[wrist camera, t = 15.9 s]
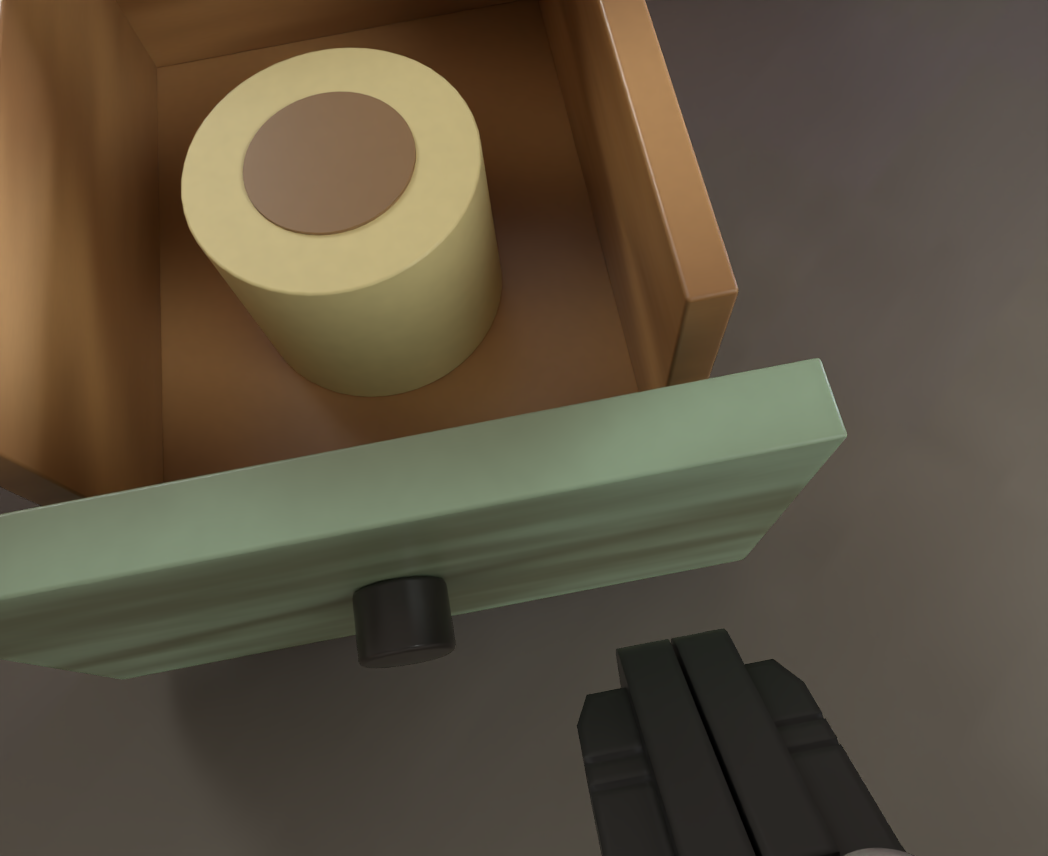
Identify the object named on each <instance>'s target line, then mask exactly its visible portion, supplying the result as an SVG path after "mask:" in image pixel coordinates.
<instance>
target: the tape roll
mask: <svg viewBox="0 0 1048 856" xmlns="http://www.w3.org/2000/svg"><path fill="white" fill-rule="evenodd" d="M181 199H182V205H183V211H184V215H185V218H186V221H187V224H188V227H189V229H190V231H191V233H192V235H193V236H194V238H195V240H196V242H197V243H198V245H199V246H200V248H201V249H202V250H203V252H204V253H205V254H206V256H207V257H208V258H209V260H210V261H211V262H212V264H213V265H214V266H215V268H216V269H217V270H218V272H219V273H220V274H221V276H222V277H223V278H224V280H225V281H226V282H227V284H228V285H229V286H230V288H231V289H232V290H233V292H234V293H235V294H236V296H237V297H238V298H239V300H240V301H241V303H242V304H243V305H244V307H245V308H246V309H247V311H248V312H249V313H250V315H251V316H252V317H253V319H254V320H255V321H256V323H257V324H258V325H259V327H260V328H261V329H262V331H263V332H264V333H265V335H266V336H267V337H268V339H269V340H270V341H271V343H272V344H273V345H274V347H275V348H276V349H277V351H278V352H279V353H280V355H281V356H282V357H283V358H284V360H285V361H286V362H287V363H288V364H289V365H290V366H291V367H292V368H293V369H294V370H295V371H296V372H297V373H299V374H300V375H302V376H303V377H305V378H306V379H307V380H309V381H311V382H313V383H315V384H317V385H319V386H321V387H323V388H326V389H329V390H332V391H335V392H338V393H343V394H348V395H352V396H365V397H376V396H389V395H395V394H401V393H405V392H408V391H412V390H415V389H418V388H421V387H423V386H425V385H428V384H430V383H432V382H434V381H436V380H438V379H440V378H441V377H443V376H445V375H447V374H448V373H449V372H451V371H452V370H454V369H455V368H456V367H458V366H459V365H460V364H461V363H462V362H463V361H465V360H466V359H467V358H468V357H469V356H470V355H471V354H472V353H473V352H474V350H475V349H476V348H477V347H478V345H479V344H480V343H481V342H482V340H483V339H484V337H485V336H486V334H487V332H488V331H489V329H490V327H491V325H492V323H493V321H494V318H495V316H496V313H497V310H498V306H499V303H500V298H501V290H502V271H501V265H500V259H499V253H498V246H497V240H496V234H495V228H494V221H493V215H492V209H491V203H490V197H489V190H488V184H487V178H486V172H485V165H484V159H483V153H482V147H481V141H480V135H479V130H478V127H477V124H476V122H475V119H474V116H473V114H472V112H471V111H470V109H469V107H468V105H467V103H466V102H465V100H464V99H463V98H462V97H461V95H460V94H459V93H458V91H457V90H456V89H455V88H454V87H453V86H452V85H451V84H450V83H449V82H448V81H447V80H446V79H445V78H443V77H442V76H441V75H439V74H438V73H436V72H435V71H434V70H432V69H431V68H429V67H427V66H425V65H423V64H421V63H419V62H418V61H416V60H413V59H410V58H408V57H405V56H402V55H399V54H395V53H391V52H388V51H384V50H376V49H369V48H334V49H325V50H319V51H314V52H309V53H305V54H302V55H298V56H294V57H291V58H289V59H286V60H283V61H281V62H278V63H276V64H274V65H272V66H270V67H268V68H265V69H263V70H261V71H259V72H258V73H256V74H255V75H253V76H251V77H250V78H248V79H247V80H245V81H243V82H242V83H241V84H240V85H238V86H237V87H236V88H234V89H233V90H232V91H231V92H229V93H228V94H227V95H226V96H225V97H224V98H223V99H222V100H221V101H220V102H219V103H218V104H217V105H216V106H215V107H214V108H213V110H212V111H211V112H210V113H209V114H208V116H207V117H206V118H205V119H204V121H203V123H202V124H201V126H200V127H199V129H198V130H197V132H196V134H195V136H194V138H193V140H192V142H191V144H190V146H189V149H188V152H187V155H186V158H185V162H184V165H183V172H182V178H181Z"/></svg>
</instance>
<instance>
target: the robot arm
mask: <svg viewBox="0 0 1048 856" xmlns="http://www.w3.org/2000/svg"><path fill="white" fill-rule="evenodd" d="M616 657H617V664H618V670H619V677H620V683H621V688H620V689H615V690H610V691H605V692H600V693H594V694H589V695H587V696H586V699H585V702H584V706H583V709H582V712H581V715H580V718H579V721H578V724H577V728H578V734H579V739H580V744H581V750H582V755H583V761H584V766H585V771H586V777H587V782H588V787H589V793H590V798H591V804H592V809H593V814H594V819H595V824H596V829H597V834H598V839H599V844H600V849H601V854H602V856H914V855H912V854H909V853H907V852H906V851H905V850H904V848H903V847H902V846H901V844H900V843H899V841H898V839H897V838H896V836H895V834H894V833H893V831H892V829H891V828H890V826H889V824H888V823H887V821H886V819H885V818H884V816H883V814H882V813H881V811H880V809H879V808H878V806H877V804H876V803H875V801H874V799H873V797H872V796H871V794H870V792H869V791H868V789H867V787H866V786H865V784H864V782H863V781H862V779H861V777H860V776H859V774H858V772H857V771H856V769H855V767H854V766H853V764H852V762H851V761H850V759H849V757H848V756H847V754H846V752H845V751H844V749H843V747H842V745H841V744H840V745H839V744H838V741H837V737H836V735H835V734H834V732H833V730H832V729H831V727H830V725H829V724H828V722H827V720H826V719H824V718H823V716H822V712H821V710H820V709H819V707H818V705H817V704H816V702H815V700H814V698H813V697H812V695H811V693H810V692H809V690H808V688H807V687H806V685H805V683H804V682H803V681H802V680H800V679H799V678H798V677H796V676H795V675H794V674H792V673H791V672H790V671H788V670H787V669H786V668H784V667H783V666H782V665H780V664H779V663H778V662H776V661H775V660H774V659H771V660H765V661H760V662H755V663H750V664H745V665H744V663H743V661H742V659H741V657H740V655H739V653H738V651H737V649H736V647H735V645H734V643H733V641H732V639H731V638H730V636H729V634H728V632H727V631H726V630H725V629H718V630H713V631H708V632H703V633H698V634H692V635H687V636H682V637H677V638H672V639H671V643H670V641H669V640H668V639H665V640H660V641H655V642H650V643H645V644H640V645H634V646H629V647H624V648H619V649H616Z"/></svg>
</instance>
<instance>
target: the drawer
mask: <svg viewBox="0 0 1048 856" xmlns="http://www.w3.org/2000/svg"><path fill="white" fill-rule="evenodd" d="M334 48H369V49H376V50H384V51H388V52H391V53H395V54H399V55H402V56H405V57H408V58H410V59H413V60H416V61H418V62H419V63H421V64H423V65H425V66H427V67H429V68H431V69H432V70H434V71H435V72H436V73H438V74H439V75H441V76H442V77H443V78H445V79H446V80H447V81H448V82H449V83H450V84H451V85H452V86H453V87H454V88H455V89H456V90H457V91H458V93H459V94H460V95H461V97H462V98H463V99H464V100H465V102H466V103H467V105H468V107H469V109H470V111H471V112H472V114H473V116H474V119H475V122H476V124H477V127H478V130H479V135H480V141H481V147H482V153H483V159H484V165H485V172H486V178H487V184H488V190H489V197H490V203H491V209H492V215H493V221H494V228H495V234H496V240H497V246H498V253H499V259H500V265H501V271H502V290H501V298H500V303H499V306H498V310H497V313H496V316H495V318H494V321H493V323H492V325H491V327H490V329H489V331H488V332H487V334H486V336H485V337H484V339H483V340H482V342H481V343H480V344H479V345H478V347H477V348H476V349H475V350H474V352H473V353H472V354H471V355H470V356H469V357H468V358H467V359H466V360H465V361H463V362H462V363H461V364H460V365H459V366H458V367H456V368H455V369H454V370H452V371H451V372H449V373H448V374H447V375H445V376H443V377H441V378H440V379H438V380H436V381H434V382H432V383H430V384H428V385H425V386H423V387H421V388H418V389H415V390H412V391H408V392H405V393H401V394H395V395H389V396H376V397H365V396H352V395H348V394H343V393H338V392H335V391H332V390H329V389H326V388H323V387H321V386H319V385H317V384H315V383H313V382H311V381H309V380H307V379H306V378H305V377H303V376H302V375H300V374H299V373H297V372H296V371H295V370H294V369H293V368H292V367H291V366H290V365H289V364H288V363H287V362H286V361H285V360H284V358H283V357H282V356H281V355H280V353H279V352H278V351H277V349H276V348H275V347H274V345H273V344H272V343H271V341H270V340H269V339H268V337H267V336H266V335H265V333H264V332H263V331H262V329H261V328H260V327H259V325H258V324H257V323H256V321H255V320H254V319H253V317H252V316H251V315H250V313H249V312H248V311H247V309H246V308H245V307H244V305H243V304H242V303H241V301H240V300H239V298H238V297H237V296H236V294H235V293H234V292H233V290H232V289H231V288H230V286H229V285H228V284H227V282H226V281H225V280H224V278H223V277H222V276H221V274H220V273H219V272H218V270H217V269H216V268H215V266H214V265H213V264H212V262H211V261H210V260H209V258H208V257H207V256H206V254H205V253H204V252H203V250H202V249H201V248H200V246H199V245H198V243H197V242H196V240H195V238H194V236H193V235H192V233H191V231H190V229H189V227H188V224H187V221H186V218H185V215H184V211H183V205H182V199H181V178H182V172H183V165H184V162H185V158H186V155H187V152H188V149H189V146H190V144H191V142H192V140H193V138H194V136H195V134H196V132H197V130H198V129H199V127H200V126H201V124H202V123H203V121H204V119H205V118H206V117H207V116H208V114H209V113H210V112H211V111H212V110H213V108H214V107H215V106H216V105H217V104H218V103H219V102H220V101H221V100H222V99H223V98H224V97H225V96H226V95H227V94H228V93H229V92H231V91H232V90H233V89H234V88H236V87H237V86H238V85H240V84H241V83H242V82H243V81H245V80H247V79H248V78H250V77H251V76H253V75H255V74H256V73H258V72H259V71H261V70H263V69H265V68H268V67H270V66H272V65H274V64H276V63H278V62H281V61H283V60H286V59H289V58H291V57H294V56H298V55H302V54H305V53H309V52H314V51H319V50H325V49H334ZM738 290H739V289H738V286H737V282H736V279H735V276H734V273H733V270H732V267H731V264H730V261H729V258H728V255H727V252H726V248H725V245H724V242H723V239H722V236H721V233H720V230H719V227H718V224H717V221H716V218H715V215H714V211H713V208H712V205H711V202H710V199H709V196H708V193H707V190H706V187H705V184H704V181H703V178H702V174H701V171H700V168H699V165H698V162H697V159H696V156H695V153H694V150H693V147H692V144H691V141H690V137H689V134H688V131H687V128H686V125H685V122H684V119H683V116H682V113H681V110H680V107H679V103H678V100H677V97H676V94H675V91H674V88H673V85H672V82H671V79H670V76H669V73H668V70H667V66H666V63H665V60H664V57H663V54H662V51H661V48H660V45H659V42H658V39H657V36H656V33H655V29H654V26H653V23H652V20H651V17H650V14H649V11H648V8H647V5H646V2H645V0H0V487H2V488H4V489H6V490H8V491H10V492H12V493H15V494H17V495H19V496H21V497H23V498H25V499H27V500H30V501H32V502H34V503H36V504H38V505H40V507H35V508H30V509H25V510H20V511H14V512H9V513H4V514H0V659H2V660H8V661H14V662H20V663H26V664H32V665H38V666H44V667H50V668H56V669H62V670H68V671H74V672H80V673H86V674H92V675H98V676H104V677H110V678H116V679H122V680H123V679H128V678H134V677H139V676H144V675H149V674H154V673H160V672H165V671H170V670H175V669H180V668H185V667H191V666H196V665H201V664H206V663H211V662H216V661H222V660H227V659H232V658H237V657H242V656H247V655H253V654H258V653H263V652H268V651H273V650H278V649H284V648H289V647H294V646H299V645H304V644H309V643H315V642H320V641H325V640H330V639H335V638H340V637H346V636H351V635H356V641H357V651H358V661H359V663H360V665H361V666H364V667H368V668H386V667H396V666H403V665H409V664H415V663H420V662H425V661H429V660H433V659H436V658H440V657H443V656H445V655H447V654H449V653H451V652H452V651H454V649H455V645H456V644H455V637H454V630H453V623H452V616H454V615H459V614H465V613H470V612H475V611H480V610H485V609H490V608H496V607H501V606H506V605H511V604H516V603H521V602H527V601H532V600H537V599H542V598H547V597H552V596H558V595H563V594H568V593H573V592H578V591H583V590H589V589H594V588H599V587H604V586H609V585H614V584H620V583H625V582H630V581H635V580H640V579H645V578H651V577H656V576H661V575H666V574H671V573H677V572H682V571H687V570H692V569H697V568H702V567H708V566H713V565H718V564H723V563H728V562H733V561H739V560H743V559H744V558H745V557H746V556H747V555H748V554H749V552H750V551H751V550H752V549H753V548H754V547H755V545H756V544H757V543H758V542H759V541H760V539H761V538H762V537H763V536H764V535H765V533H766V532H767V531H768V530H769V529H770V527H771V526H772V525H773V524H774V523H775V522H776V520H777V519H778V518H779V517H780V516H781V514H782V513H783V512H784V511H785V510H786V508H787V507H788V506H789V505H790V504H791V503H792V501H793V500H794V499H795V498H796V497H797V495H798V494H799V493H800V492H801V491H802V489H803V488H804V487H805V486H806V485H807V483H808V482H809V481H810V480H811V479H812V478H813V476H814V475H815V474H816V473H817V472H818V470H819V469H820V468H821V467H822V466H823V464H824V463H825V462H826V461H827V460H828V458H829V457H830V456H831V455H832V454H833V453H834V451H835V450H836V449H837V448H838V447H839V445H840V444H841V443H842V442H843V441H844V439H845V438H846V437H847V433H846V430H845V427H844V424H843V421H842V418H841V416H840V413H839V410H838V407H837V404H836V402H835V399H834V396H833V393H832V390H831V387H830V385H829V382H828V379H827V376H826V373H825V370H824V368H823V365H822V362H821V360H820V359H819V358H814V359H809V360H804V361H798V362H793V363H788V364H783V365H777V366H772V367H767V368H762V369H757V370H751V371H746V372H741V373H736V374H730V375H725V376H720V377H715V378H710V379H709V376H710V373H711V370H712V367H713V365H714V362H715V359H716V356H717V353H718V350H719V347H720V344H721V341H722V338H723V335H724V333H725V330H726V327H727V324H728V321H729V318H730V315H731V312H732V309H733V306H734V304H735V301H736V298H737V295H738Z"/></svg>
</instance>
